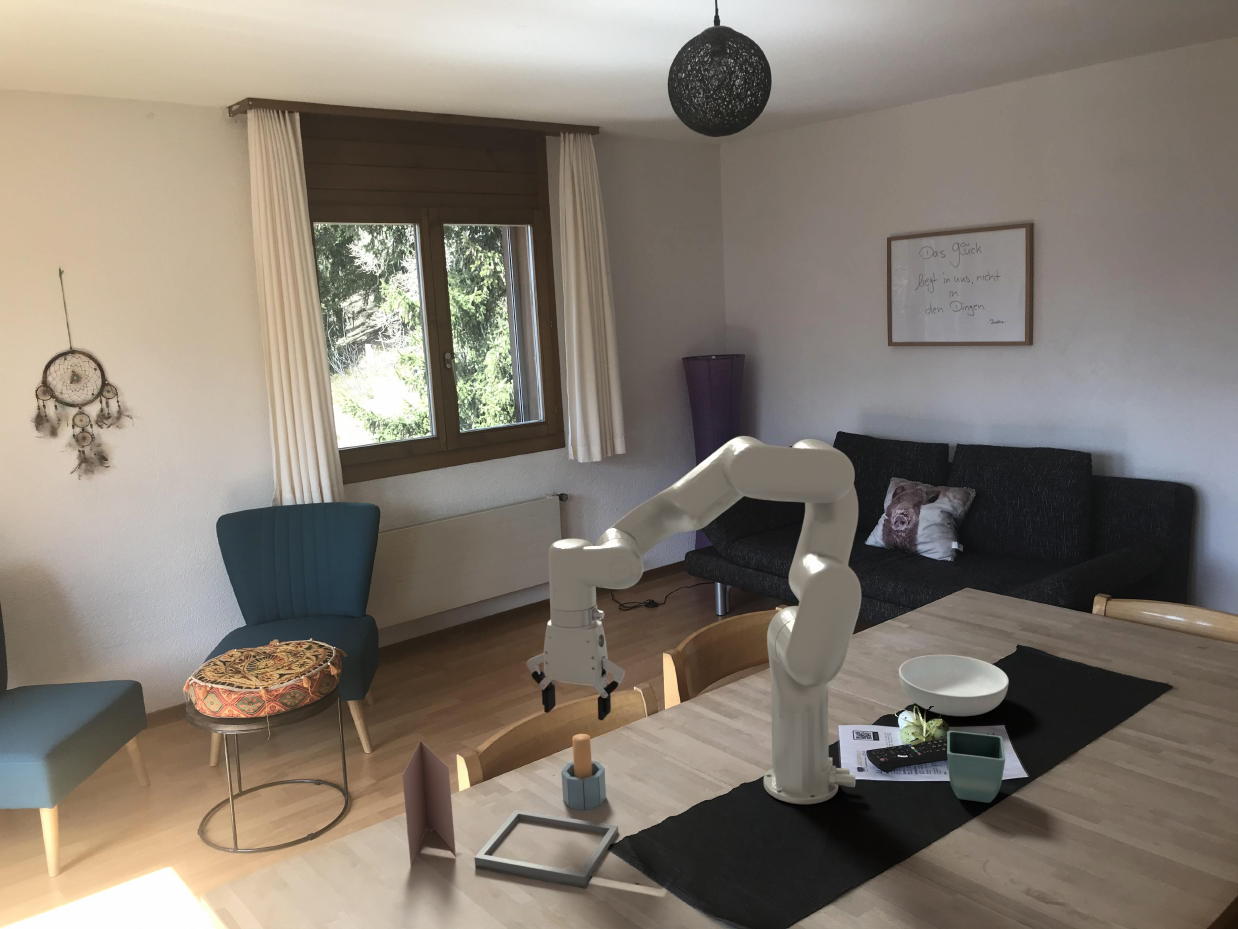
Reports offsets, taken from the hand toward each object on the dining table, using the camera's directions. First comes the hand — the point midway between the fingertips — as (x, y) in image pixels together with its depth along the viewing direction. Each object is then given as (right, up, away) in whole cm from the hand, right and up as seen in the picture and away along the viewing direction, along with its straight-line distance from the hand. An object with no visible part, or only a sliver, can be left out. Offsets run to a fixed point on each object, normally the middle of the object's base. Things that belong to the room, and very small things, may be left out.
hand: (576, 713), depth 158 cm
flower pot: (+66, -14, 0) cm, 68 cm away
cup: (+1, -16, +3) cm, 16 cm away
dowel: (+1, -15, +3) cm, 15 cm away
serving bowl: (+75, -8, +34) cm, 82 cm away
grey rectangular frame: (-4, -19, -11) cm, 22 cm away
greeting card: (-22, -19, -8) cm, 30 cm away
